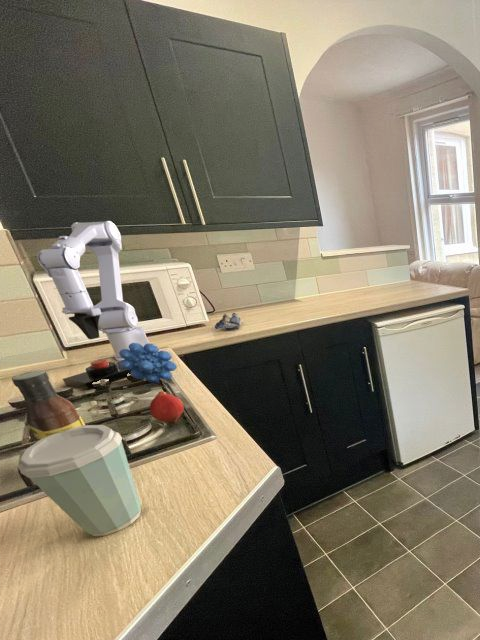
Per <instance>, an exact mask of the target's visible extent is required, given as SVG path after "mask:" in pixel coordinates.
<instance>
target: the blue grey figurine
mask: <svg viewBox="0 0 480 640" xmlns="http://www.w3.org/2000/svg"><path fill="white" fill-rule="evenodd" d="M241 324H243V322H242V317H241V316H240V314H238V313H236V312H233V313H231V316H230V315H228V314H227V313H224V314H223V315H222V317H221V319H219V321H218V322H216V323H215V324H214V328H215V330H218V329H224V330H225V329H226V331H233V330H238V329H240V325H241Z"/></svg>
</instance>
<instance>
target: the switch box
mask: <svg viewBox="0 0 480 640" xmlns="http://www.w3.org/2000/svg"><path fill="white" fill-rule="evenodd" d="M120 362H121V361H116V362H115V361H108V363H109V365H108V366H106V367H102V368H97V369H93V368H92V366H91V365H90V366H88V367H86V368H85V372H81V373H78V374H75V375H71V376H68V377H65V378H62V381H63V383H64V385H65V386H66V387H68V388H69V387H70V388H75V389H80V390H86V391H91V390H94V389H97V388H98V387H93V385H92V383H93V382H97V381H99V380H101V379H109V382H110V383H109V384H112V383H114V382H117V381H120V380H124V379H127V378H128V377H127V374H128V373H129V374H131V373H130V372H131V370H126V369H124V368H122V367H121V365H120Z"/></svg>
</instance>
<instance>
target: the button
mask: <svg viewBox="0 0 480 640" xmlns="http://www.w3.org/2000/svg"><path fill="white" fill-rule="evenodd" d="M108 362H109V361H108V359H97V360H94V361H91V362H90V366H92V368H93V369H97V368H102V367H106V366H108V365H109V363H108Z"/></svg>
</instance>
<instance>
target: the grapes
mask: <svg viewBox="0 0 480 640" xmlns="http://www.w3.org/2000/svg"><path fill="white" fill-rule="evenodd" d="M129 349H130V350H129ZM129 349H122V350H120V352H119V354H120V356H121V357H122V358H123V359H124V360H121V361H119V362H120V365H121V367H122V368H124V369H126V370H131V372H130V373H131V375H132V376H131V377H132V378H134V379H136V380H143V379H146V381H148V382H149V383H153V384H154V383H159V382H160V380H161V379H162V380H170V379H172V378H173V373H172V372H174V371H176V370H177V367H178V366H177V364H176V363H175V362H173V361H172V354H171V352H169V351H166V350H159V346H157V344H154V343H150V344H146V345H144V347H143V346H142V345H141V344H139V343H131V344H130V345H129Z"/></svg>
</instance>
